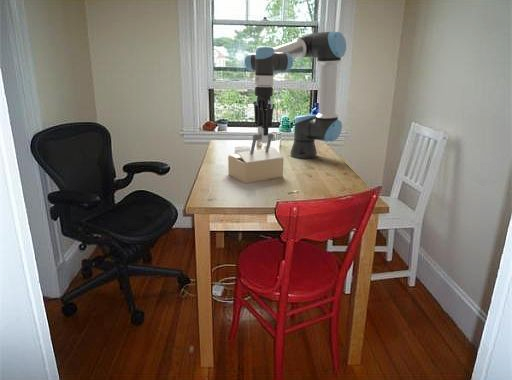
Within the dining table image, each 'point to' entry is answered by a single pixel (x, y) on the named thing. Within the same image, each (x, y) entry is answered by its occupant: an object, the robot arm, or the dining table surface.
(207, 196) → the dining table surface
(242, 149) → the white cup
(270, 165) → the cabinet
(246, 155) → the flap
